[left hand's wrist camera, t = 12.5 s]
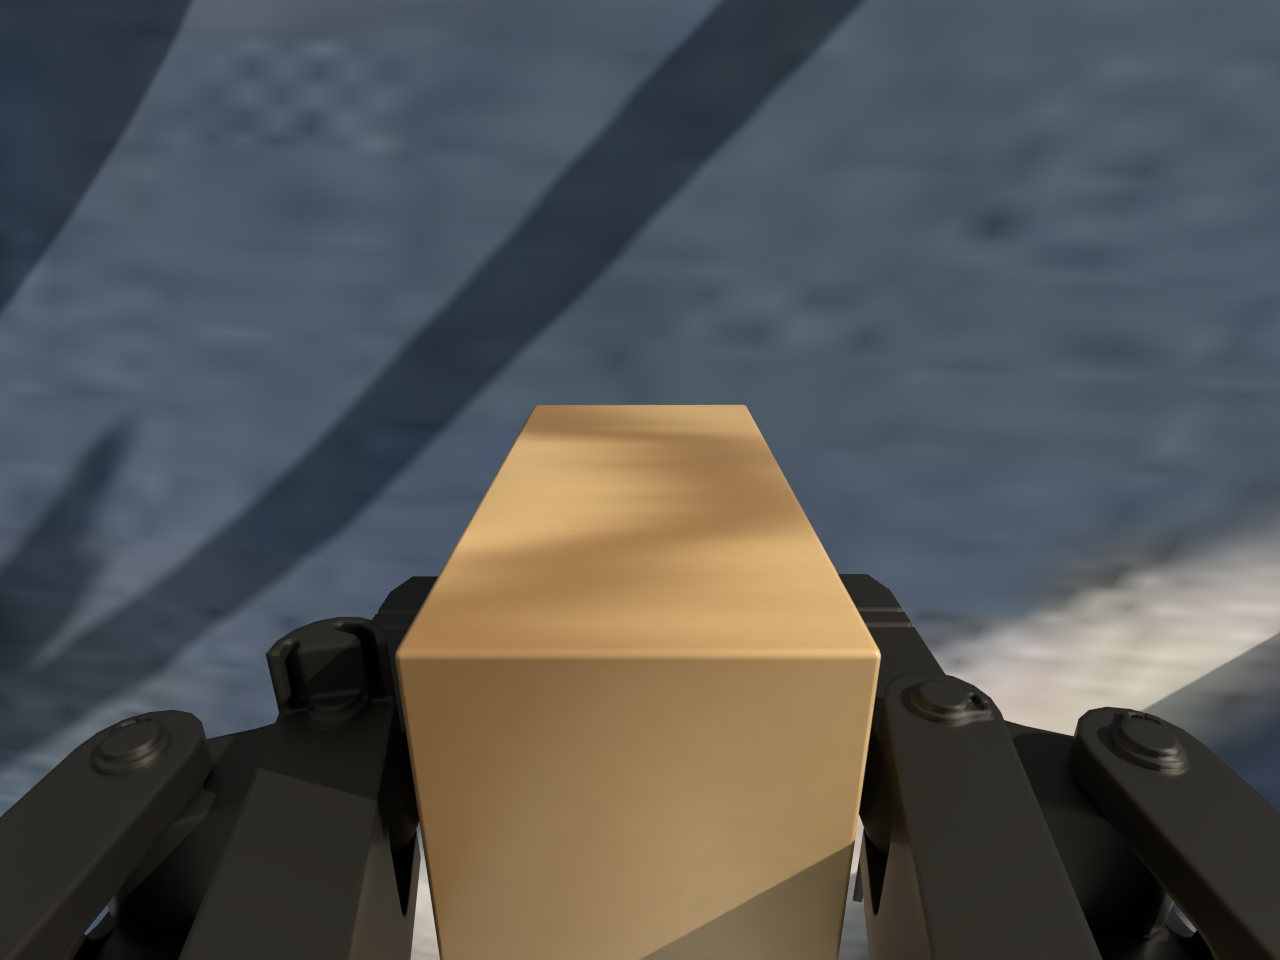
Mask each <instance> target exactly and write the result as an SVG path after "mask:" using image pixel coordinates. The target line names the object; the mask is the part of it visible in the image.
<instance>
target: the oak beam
mask: <svg viewBox="0 0 1280 960" xmlns="http://www.w3.org/2000/svg"><path fill="white" fill-rule="evenodd" d="M880 659H881V654H880V651H879V649H878V647H877V645H876V643H875V641H874V640H873V638H872V636H871V634H870V632H869V630H868V629H867V627H866V625H865V623H864V621H863V619H862V618H861V616H860V614H859V612H858V610H857V609H856V607H855V605H854V603H853V601H852V599H851V598H850V596H849V594H848V592H847V590H846V588H845V587H844V585H843V583H842V581H841V579H840V577H839V576H838V574H837V572H836V570H835V568H834V566H833V565H832V563H831V561H830V559H829V557H828V555H827V554H826V552H825V550H824V548H823V546H822V544H821V543H820V541H819V539H818V537H817V535H816V534H815V532H814V530H813V528H812V526H811V524H810V523H809V521H808V519H807V517H806V515H805V513H804V512H803V510H802V508H801V506H800V504H799V502H798V501H797V499H796V497H795V495H794V493H793V491H792V490H791V488H790V486H789V484H788V482H787V480H786V479H785V477H784V475H783V473H782V471H781V469H780V468H779V466H778V464H777V462H776V460H775V459H774V457H773V455H772V453H771V451H770V449H769V448H768V446H767V444H766V442H765V440H764V438H763V437H762V435H761V433H760V431H759V429H758V427H757V426H756V424H755V422H754V420H753V418H752V416H751V415H750V413H749V411H748V409H747V407H746V406H744V405H537V406H535V407H534V409H533V410H532V412H531V414H530V416H529V417H528V419H527V421H526V423H525V425H524V426H523V428H522V430H521V432H520V433H519V435H518V437H517V439H516V440H515V442H514V444H513V446H512V447H511V449H510V451H509V453H508V454H507V456H506V458H505V460H504V462H503V463H502V465H501V467H500V469H499V470H498V472H497V474H496V476H495V477H494V479H493V481H492V483H491V484H490V486H489V488H488V490H487V491H486V493H485V495H484V497H483V499H482V500H481V502H480V504H479V506H478V507H477V509H476V511H475V513H474V514H473V516H472V518H471V520H470V521H469V523H468V525H467V527H466V529H465V530H464V532H463V534H462V536H461V537H460V539H459V541H458V543H457V544H456V546H455V548H454V550H453V551H452V553H451V555H450V557H449V558H448V560H447V562H446V564H445V566H444V567H443V569H442V571H441V573H440V574H439V576H438V578H437V580H436V581H435V583H434V585H433V587H432V588H431V590H430V592H429V594H428V595H427V597H426V599H425V601H424V603H423V604H422V606H421V608H420V610H419V611H418V613H417V615H416V617H415V618H414V620H413V622H412V624H411V625H410V627H409V629H408V631H407V633H406V634H405V636H404V638H403V640H402V641H401V643H400V645H399V647H398V648H397V650H396V653H395V661H396V668H397V675H398V681H399V688H400V695H401V701H402V708H403V715H404V721H405V728H406V735H407V741H408V748H409V755H410V761H411V768H412V775H413V781H414V788H415V795H416V801H417V808H418V815H419V821H420V828H421V835H422V841H423V848H424V855H425V861H426V868H427V875H428V881H429V888H430V895H431V901H432V908H433V915H434V921H435V928H436V935H437V941H438V948H439V955H440V960H838V956H839V949H840V942H841V935H842V928H843V921H844V914H845V907H846V899H847V892H848V885H849V878H850V871H851V864H852V857H853V850H854V843H855V836H856V829H857V822H858V815H859V808H860V801H861V794H862V786H863V779H864V772H865V765H866V758H867V751H868V744H869V737H870V730H871V723H872V716H873V709H874V702H875V695H876V688H877V681H878V674H879V666H880Z"/></svg>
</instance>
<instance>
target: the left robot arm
mask: <svg viewBox="0 0 1280 960" xmlns="http://www.w3.org/2000/svg"><path fill="white" fill-rule="evenodd" d="M838 576H839V577H840V579H841V581H842V583H843V585H844V587H845V588H846V590H847V592H848V594H849V596H850V598H851V599H852V601H853V603H854V605H855V607H856V609H857V610H858V612H859V614H860V616H861V618H862V619H863V621H864V623H865V625H866V627H867V629H868V630H869V632H870V634H871V636H872V638H873V640H874V641H875V643H876V645H877V647H878V649H879V651H880V654H881V659H880V666H879V674H878V681H877V688H876V695H875V702H874V709H873V716H872V723H871V730H870V737H869V744H868V751H867V758H866V765H865V772H864V779H863V786H862V794H861V801H860V808H859V815H860V818H861V821H862V823H863V826H864V831H863V837H862V844H861V850H860V857H859V863H858V870H857V876H856V883H855V889H854V896H853V901H857V902H862V899H863V897H864V907H865V917H866V927H867V937H868V946H869V956H870V960H1280V813H1279V812H1278V811H1277V810H1276V809H1275V808H1274V807H1273V806H1271V805H1270V804H1269V803H1268V802H1267V801H1266V800H1265V799H1264V798H1263V797H1262V796H1260V795H1259V794H1258V793H1257V792H1256V791H1255V790H1254V789H1253V788H1252V787H1250V786H1249V785H1248V784H1247V783H1246V782H1245V781H1244V780H1243V779H1242V778H1240V777H1239V776H1238V775H1237V774H1236V773H1235V772H1234V771H1233V770H1232V769H1231V768H1229V767H1228V766H1227V765H1226V764H1225V763H1224V762H1223V761H1222V760H1221V759H1219V758H1218V757H1217V756H1216V755H1215V754H1214V753H1213V752H1212V751H1211V750H1210V749H1208V748H1207V747H1206V746H1205V745H1204V744H1202V743H1201V742H1200V741H1198V740H1197V739H1196V738H1194V737H1193V736H1191V735H1190V734H1189V733H1187V732H1186V731H1184V730H1183V729H1181V728H1179V727H1177V726H1175V725H1173V724H1171V723H1169V722H1167V721H1164V720H1162V719H1161V718H1159V717H1156V716H1153V715H1150V714H1147V713H1142V712H1140V711H1135V710H1132V709H1124V708H1114V707H1103V708H1098V709H1093V710H1089V711H1087V712H1086V713H1085V714H1084V715H1083V716H1081V717H1080V718H1079V720H1078V723H1077V727H1076V730H1075V734H1074V736H1070V735H1065V734H1060V733H1055V732H1051V731H1046V730H1041V729H1037V728H1032V727H1027V726H1023V725H1019V724H1016V723H1012V722H1009V721H1005V720H1004V719H1003V716H1002V714H1001V712H1000V710H999V709H998V708H997V706H996V705H995V703H994V702H993V701H992V699H991V698H990V697H989V696H987V695H986V694H985V693H983V692H982V691H981V690H979V689H978V688H977V687H975V686H974V685H972V684H969V683H967V682H965V681H963V680H960V679H958V678H956V677H954V676H949V675H945V673H944V672H943V670H942V669H941V667H940V666H939V664H938V662H937V661H936V659H935V658H934V656H933V655H932V653H931V652H930V650H929V649H928V647H927V646H926V644H925V643H924V641H923V640H922V638H921V637H920V635H919V634H918V632H917V631H916V629H915V627H912V623H911V621H910V620H909V618H908V617H907V615H906V614H905V612H902V608H901V606H900V605H899V603H898V602H897V600H896V599H895V597H894V596H893V594H892V592H891V591H890V590H889V589H888V588H886V587H885V586H883V585H882V584H881V583H879V582H878V581H876V580H875V579H873V578H872V577H870V576H869V575H868V574H838ZM437 578H438V577H411V578H410V579H408V580H407V581H406V582H404V583H403V584H401V585H400V586H398V587H397V588H396V589H394V590H393V591H391V592H390V593H389V595H388V596H387V598H386V599H385V601H384V602H383V604H382V606H381V607H380V609H379V610H378V614H376V615H375V616H374V618H373V619H372V620H369V619H365V618H361V617H336V618H331V619H326V620H321V621H316V622H313V623H311V624H308V625H306V626H303V627H300V628H298V629H295V630H293V631H292V632H290V633H289V634H287V635H286V636H284V637H283V638H281V639H279V640H278V641H276V643H275V644H274V645H273V646H272V647H271V649H270V650H269V651H268V652H267V654H266V657H267V662H268V666H269V670H270V675H271V679H272V683H273V688H274V692H275V696H276V701H277V705H278V709H279V715H278V718H277V720H276V722H275V723H274V724H271V725H267V726H264V727H260V728H257V729H253V730H248V731H243V732H238V733H234V734H229V735H224V736H220V737H215V738H210V739H206V736H205V732H204V729H203V725H202V722H201V721H200V720H199V719H198V718H196V717H195V716H194V715H193V714H192V713H187V712H182V711H177V710H167V711H157V712H149V713H146V714H141V715H138V716H133V717H131V718H128V719H125V720H122V721H120V722H118V723H116V724H114V725H112V726H110V727H108V728H106V729H104V730H102V731H100V732H98V733H96V734H95V735H94V736H92V737H91V738H89V739H88V740H87V741H85V742H84V743H83V744H81V745H80V746H78V747H77V748H76V749H75V750H74V751H72V752H71V753H70V754H69V755H68V756H67V757H66V758H65V759H64V760H63V761H62V762H60V763H59V764H58V765H57V766H56V767H55V768H54V769H53V770H52V771H51V772H49V773H48V774H47V775H46V776H45V777H44V778H43V779H42V780H41V781H40V782H38V783H37V784H36V785H35V786H34V787H33V788H32V789H31V790H30V791H29V792H27V793H26V794H25V795H24V796H23V797H22V798H21V799H20V800H19V801H18V802H17V803H15V804H14V805H13V806H12V807H11V808H10V809H9V810H8V811H7V812H6V813H4V814H3V815H2V816H1V817H0V960H410V958H411V948H412V938H413V928H414V918H415V908H416V898H417V889H418V879H419V869H420V859H421V857H420V851H419V844H418V837H417V831H416V829H417V826H418V823H419V815H418V808H417V801H416V795H415V788H414V781H413V775H412V768H411V761H410V755H409V748H408V741H407V735H406V728H405V721H404V715H403V708H402V701H401V695H400V688H399V681H398V675H397V668H396V661H395V653H396V650H397V648H398V647H399V645H400V643H401V641H402V640H403V638H404V636H405V634H406V633H407V631H408V629H409V627H410V625H411V624H412V622H413V620H414V618H415V617H416V615H417V613H418V611H419V610H420V608H421V606H422V604H423V603H424V601H425V599H426V597H427V595H428V594H429V592H430V590H431V588H432V587H433V585H434V583H435V581H436V580H437ZM1174 902H1175V903H1176V905H1177V906H1178V907H1179V908H1180V910H1181V911H1182V912H1183V913H1184V914H1185V916H1186V917H1187V918H1188V919H1189V921H1190V922H1191V923H1192V924H1193V926H1194V927H1195V928H1196V929H1197V931H1196V932H1195V933H1194V932H1192V931H1191V930H1190V929H1189V928H1188V927H1187V926H1186V925H1185V924H1184V923H1183V922H1182V921H1181V919H1180V918H1179V917H1178V916H1177V914H1176V913H1175V912H1174V911H1173V909H1172V905H1173V903H1174ZM106 905H107V907H108V909H109V912H108V913H107V914H106V915H105V917H104V918H103V919H102V920H101V922H100V923H99V924H98V925H97V926H96V927H95V928H94V929H93V930H92V931H91V932H90V933H88V934H87V935H85V934H84V933H85V931H86V930H87V929H88V928H89V926H90V925H91V924H92V923H93V921H94V920H95V919H96V918H97V916H98V915H99V914H100V913H101V912H102V910H103V909H104V908H105V907H106Z"/></svg>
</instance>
